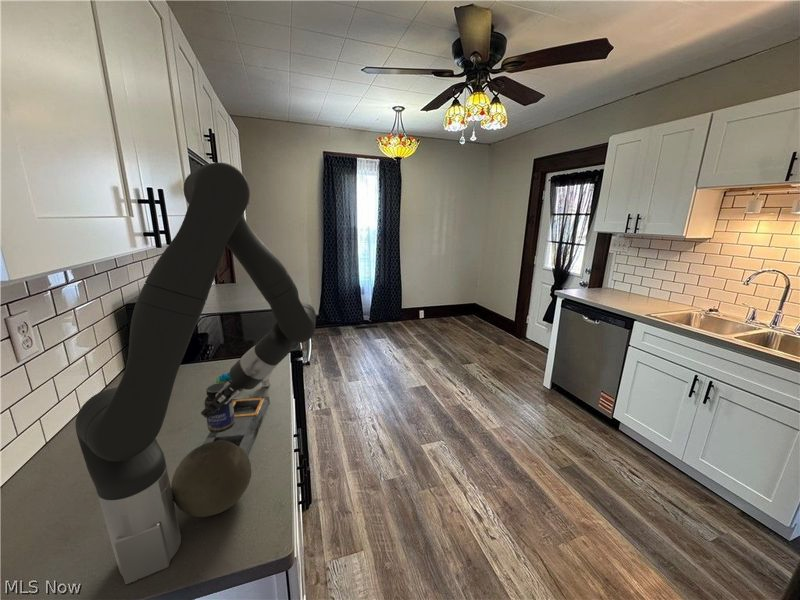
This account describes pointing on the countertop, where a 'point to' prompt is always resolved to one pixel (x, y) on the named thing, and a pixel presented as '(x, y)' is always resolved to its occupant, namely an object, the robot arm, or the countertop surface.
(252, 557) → the countertop surface
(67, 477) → the countertop surface
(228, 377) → the blue branched piece
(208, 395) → the pill bottle
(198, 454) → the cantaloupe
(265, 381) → the lightbulb
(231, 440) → the grey rectangular tray
